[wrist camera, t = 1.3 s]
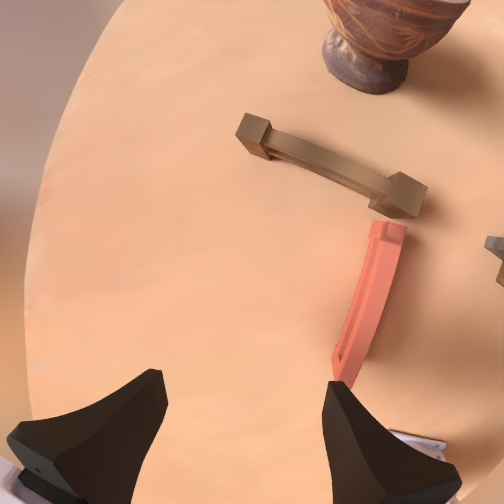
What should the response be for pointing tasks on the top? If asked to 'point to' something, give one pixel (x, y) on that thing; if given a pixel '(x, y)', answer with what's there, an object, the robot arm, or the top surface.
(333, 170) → the fence
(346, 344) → the gate
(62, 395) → the top surface
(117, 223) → the top surface
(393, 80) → the mortar and pestle
